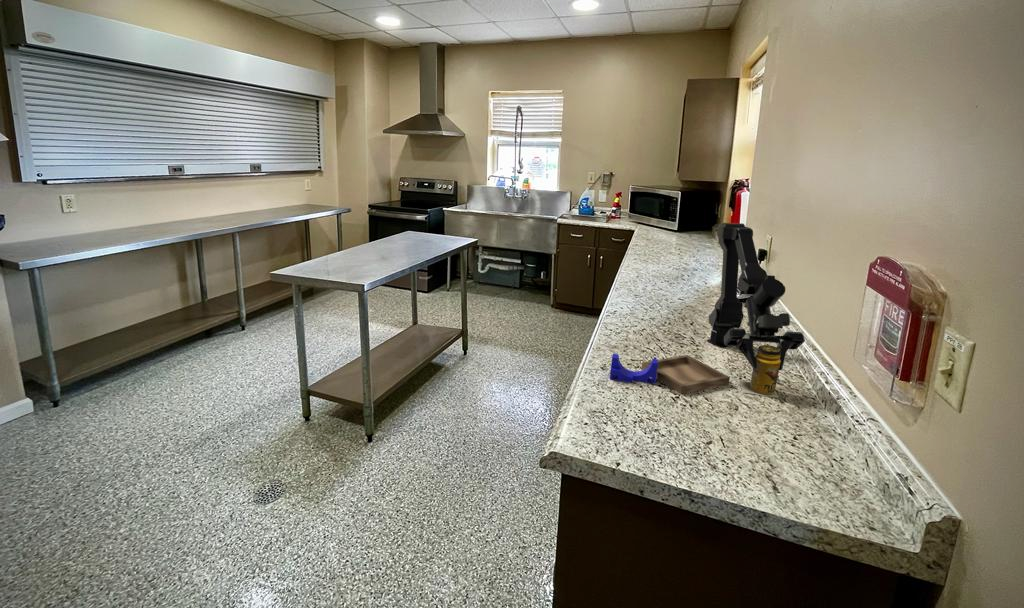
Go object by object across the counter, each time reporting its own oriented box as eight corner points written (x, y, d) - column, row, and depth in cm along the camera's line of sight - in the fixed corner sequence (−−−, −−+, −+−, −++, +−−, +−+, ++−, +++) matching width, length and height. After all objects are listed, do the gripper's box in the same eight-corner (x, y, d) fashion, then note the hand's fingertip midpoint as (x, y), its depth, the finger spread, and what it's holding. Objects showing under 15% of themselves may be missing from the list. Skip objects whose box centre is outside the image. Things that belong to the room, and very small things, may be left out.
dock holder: (686, 361, 150) (687, 354, 149) (728, 384, 135) (730, 377, 135) (641, 369, 143) (642, 362, 143) (680, 394, 129) (681, 386, 128)
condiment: (778, 398, 128) (787, 354, 125) (742, 393, 131) (750, 350, 127) (773, 386, 135) (781, 344, 132) (739, 381, 137) (746, 340, 134)
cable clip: (609, 379, 137) (611, 359, 135) (611, 373, 141) (613, 353, 139) (655, 386, 134) (657, 365, 132) (655, 379, 138) (657, 359, 136)
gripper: (733, 299, 131) (740, 354, 124) (808, 303, 129) (820, 359, 122) (720, 318, 141) (726, 370, 133) (790, 322, 139) (800, 375, 131)
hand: (767, 368), depth 130 cm, fingers closed on condiment, 6 cm apart
